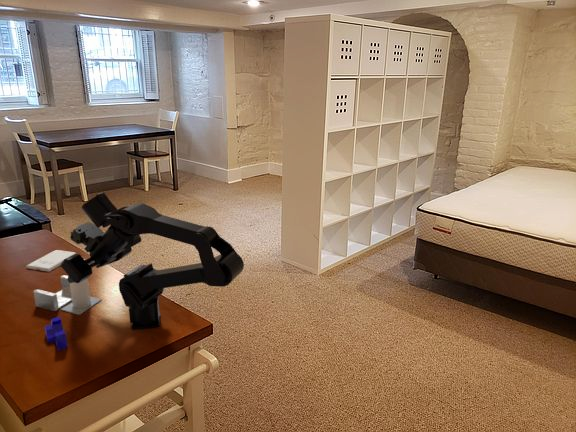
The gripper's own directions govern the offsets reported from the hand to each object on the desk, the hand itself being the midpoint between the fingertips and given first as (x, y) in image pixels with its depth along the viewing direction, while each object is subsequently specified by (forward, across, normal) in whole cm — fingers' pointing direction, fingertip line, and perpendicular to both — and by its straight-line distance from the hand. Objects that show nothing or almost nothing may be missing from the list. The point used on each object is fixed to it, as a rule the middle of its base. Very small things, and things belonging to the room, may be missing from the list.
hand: (83, 273), depth 111 cm
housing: (+13, 0, 0) cm, 13 cm away
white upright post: (+8, 0, +5) cm, 10 cm away
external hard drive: (+29, -17, -14) cm, 36 cm away
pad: (+8, 0, +5) cm, 10 cm away
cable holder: (+4, +14, +10) cm, 18 cm away
